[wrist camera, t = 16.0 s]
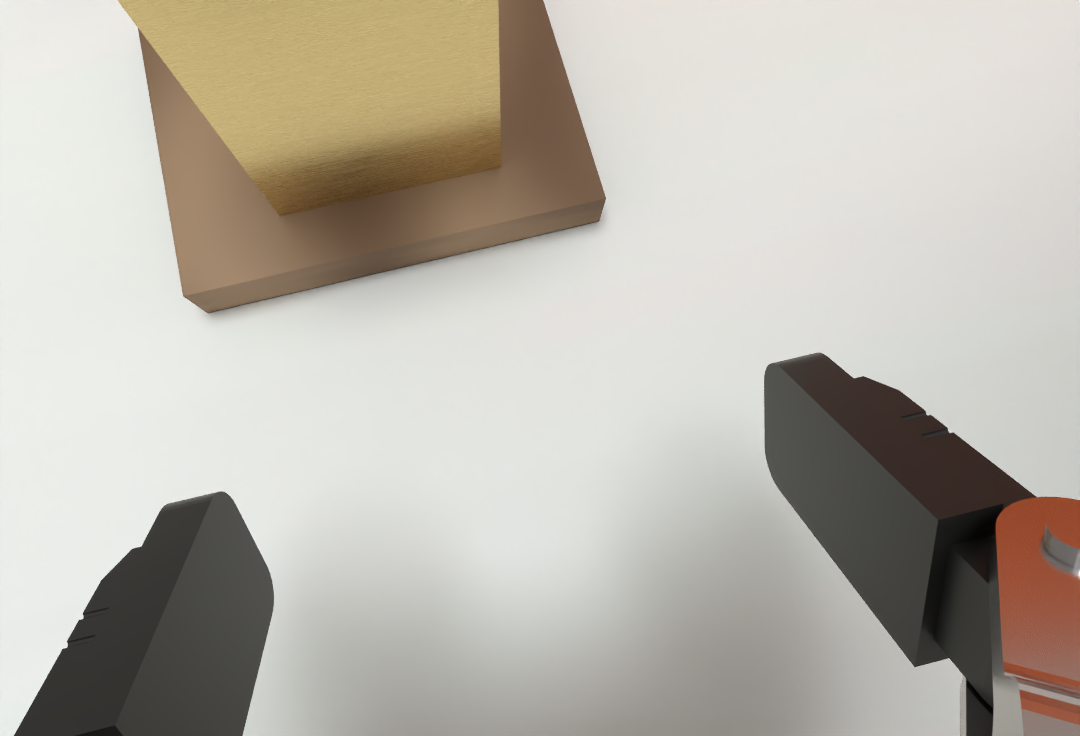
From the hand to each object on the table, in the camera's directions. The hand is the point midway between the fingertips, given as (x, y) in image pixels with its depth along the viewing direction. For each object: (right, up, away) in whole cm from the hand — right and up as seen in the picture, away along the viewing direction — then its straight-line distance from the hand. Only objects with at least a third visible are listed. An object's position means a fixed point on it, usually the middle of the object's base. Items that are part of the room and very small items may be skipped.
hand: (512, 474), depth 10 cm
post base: (-5, +9, +11) cm, 15 cm away
